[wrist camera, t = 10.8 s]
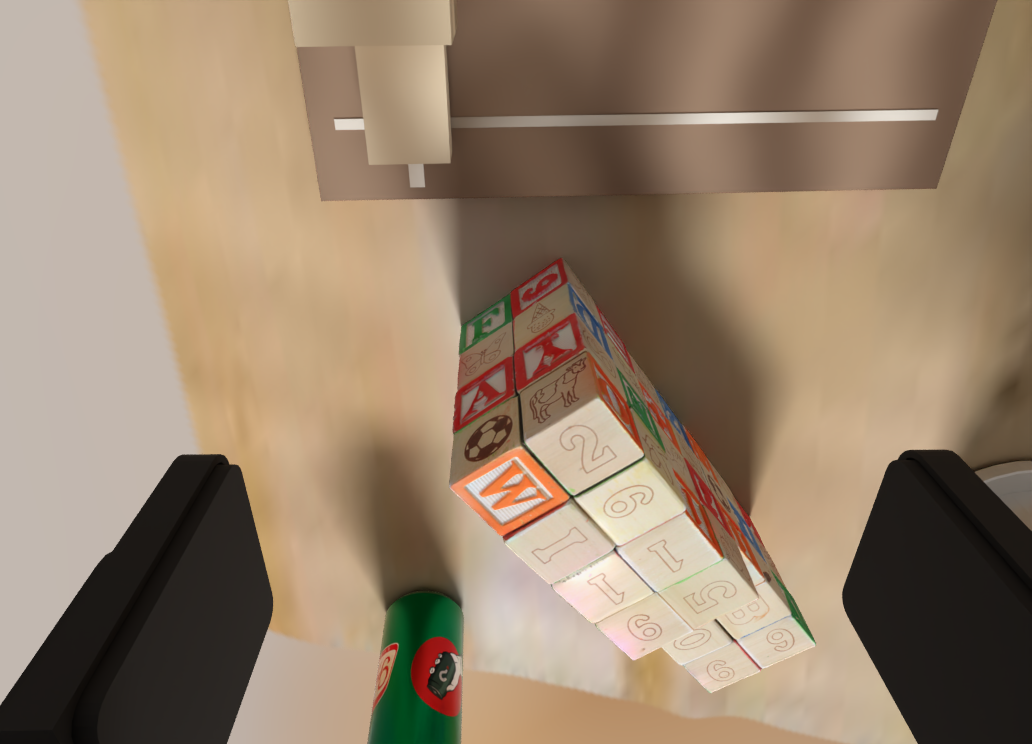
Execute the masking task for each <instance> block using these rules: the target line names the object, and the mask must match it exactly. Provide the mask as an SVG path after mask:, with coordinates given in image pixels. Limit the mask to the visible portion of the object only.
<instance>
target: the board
mask: <svg viewBox="0 0 1032 744" xmlns="http://www.w3.org/2000/svg"><path fill="white" fill-rule="evenodd" d="M996 2H997V0H457V22H458V27H457V30H456V33H455V36H454V39H453V42H452V45H447V63H448V81H449V100H450V118H451V136H452V156H451V163H443V164H389V165H369V162H368V154H367V145H366V137H365V128H364V120H363V112H362V103H361V95H360V86H359V78H358V70H357V61H356V53H355V46H329V47H297V53H298V59H299V65H300V71H301V78H302V84H303V90H304V96H305V103H306V109H307V115H308V121H309V128H310V134H311V140H312V146H313V153H314V159H315V165H316V171H317V178H318V184H319V190H320V196H321V201H346V200H395V199H445V198H494V197H543V196H592V195H641V194H690V193H739V192H788V191H837V190H886V189H936V188H937V185H938V182H939V179H940V176H941V173H942V170H943V167H944V164H945V161H946V157H947V154H948V151H949V148H950V145H951V142H952V139H953V136H954V133H955V130H956V126H957V123H958V120H959V117H960V114H961V111H962V108H963V105H964V102H965V99H966V95H967V92H968V89H969V86H970V83H971V80H972V77H973V74H974V71H975V68H976V64H977V61H978V58H979V55H980V52H981V49H982V46H983V43H984V40H985V37H986V33H987V30H988V27H989V24H990V21H991V18H992V15H993V12H994V9H995V6H996Z"/></svg>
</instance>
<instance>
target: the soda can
mask: <svg viewBox="0 0 1032 744" xmlns="http://www.w3.org/2000/svg"><path fill="white" fill-rule="evenodd" d="M463 635H464V616H463V612H462V610H461V609H460V607H459V606H458V605H457V604H456V603H455V602H454V601H453V600H452V599H451V598H449V597H448V596H446V595H444V594H442V593H439V592H435V591H428V590H422V591H414V592H411V593H408V594H406V595H404V596H402V597H401V598H399V599H398V600H396V601H395V602H394V603H393V604H392V605H391V606H390V607H389V609H388V610H387V613H386V616H385V623H384V630H383V637H382V644H381V651H380V658H379V665H378V672H377V679H376V686H375V694H374V700H373V708H372V715H371V722H370V728H369V735H368V742H367V744H461V723H462V722H461V721H462V679H463V676H462V675H463Z"/></svg>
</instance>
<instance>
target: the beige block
mask: <svg viewBox="0 0 1032 744" xmlns="http://www.w3.org/2000/svg"><path fill="white" fill-rule="evenodd" d="M288 5H289V11H290V17H291V23H292V30H293V36H294V42H295V47H329V46H355V53H356V61H357V70H358V78H359V86H360V95H361V103H362V112H363V120H364V128H365V137H366V145H367V154H368V162H369V165H389V164H443V163H451V156H452V136H451V118H450V100H449V81H448V63H447V45H452V42H453V39H454V36H455V33H456V30H457V27H458V22H457V0H288Z"/></svg>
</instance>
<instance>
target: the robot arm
mask: <svg viewBox="0 0 1032 744" xmlns="http://www.w3.org/2000/svg"><path fill="white" fill-rule="evenodd" d="M842 599H843V605H844V609H845V612H846V614H847V616H848V618H849V620H850V621H851V623H852V625H853V627H854V629H855V631H856V632H857V634H858V636H859V638H860V640H861V641H862V643H863V645H864V647H865V649H866V650H867V652H868V654H869V656H870V658H871V660H872V661H873V663H874V665H875V667H876V669H877V670H878V672H879V674H880V676H881V678H882V680H883V681H884V683H885V685H886V687H887V689H888V690H889V692H890V694H891V696H892V698H893V699H894V701H895V703H896V705H897V707H898V709H899V710H900V712H901V714H902V716H903V718H904V719H905V721H906V723H907V725H908V727H909V728H910V730H911V732H912V734H913V736H914V738H915V739H916V741H917V743H918V744H1032V461H1016V462H1010V463H1004V464H999V465H994V466H991V467H988V468H985V469H981V470H978V471H975V472H974V471H973V470H972V469H971V468H970V467H969V466H968V465H967V464H966V463H965V462H964V461H963V460H962V459H961V458H960V457H959V456H958V455H957V454H955V453H954V452H953V451H949V450H908V451H905V452H903V453H902V454H901V455H900V457H899V458H898V460H895V461H892V462H891V463H890V464H889V465H888V467H887V469H886V472H885V475H884V478H883V480H882V483H881V486H880V489H879V491H878V494H877V497H876V500H875V502H874V505H873V508H872V511H871V513H870V516H869V519H868V521H867V524H866V527H865V530H864V532H863V535H862V538H861V541H860V543H859V546H858V549H857V552H856V554H855V557H854V560H853V563H852V565H851V568H850V571H849V574H848V576H847V579H846V582H845V585H844V587H843V592H842ZM272 611H273V596H272V591H271V587H270V583H269V579H268V575H267V571H266V567H265V563H264V559H263V555H262V551H261V547H260V543H259V539H258V535H257V531H256V527H255V523H254V519H253V515H252V511H251V507H250V503H249V499H248V495H247V491H246V487H245V483H244V479H243V475H242V472H241V469H240V467H239V466H238V465H229V462H228V460H227V458H226V457H225V456H224V455H221V454H210V455H180V456H178V457H177V458H176V459H175V460H174V461H173V463H172V464H171V466H170V467H169V469H168V470H167V472H166V473H165V475H164V476H163V478H162V479H161V481H160V482H159V483H158V485H157V486H156V488H155V489H154V491H153V493H152V494H151V495H150V497H149V498H148V500H147V501H146V503H145V504H144V506H143V507H142V508H141V510H140V512H139V513H138V514H137V516H136V517H135V519H134V520H133V522H132V523H131V525H130V526H129V528H128V529H127V531H126V532H125V534H124V535H123V536H122V538H121V539H120V541H119V542H118V544H117V545H116V547H115V548H114V550H113V551H112V552H111V553H109V554H107V555H105V557H104V558H103V559H102V560H101V561H100V562H99V563H98V565H97V566H96V567H95V569H94V570H93V572H92V573H91V575H90V576H89V578H88V579H87V580H86V582H85V583H84V585H83V586H82V588H81V589H80V591H79V592H78V594H77V595H76V596H75V598H74V599H73V601H72V602H71V604H70V605H69V607H68V608H67V609H66V611H65V612H64V614H63V615H62V617H61V618H60V620H59V621H58V622H57V624H56V625H55V627H54V629H53V630H52V631H51V633H50V634H49V636H48V637H47V638H46V640H45V641H44V643H43V644H42V646H41V647H40V649H39V650H38V651H37V653H36V654H35V656H34V657H33V659H32V660H31V662H30V663H29V665H28V666H27V667H26V669H25V670H24V672H23V673H22V675H21V676H20V678H19V679H18V681H17V682H16V683H15V685H14V686H13V688H12V689H11V691H10V692H9V694H8V695H7V696H6V698H5V700H4V701H3V702H2V704H1V705H0V744H227V742H228V739H229V736H230V733H231V730H232V728H233V725H234V722H235V719H236V716H237V714H238V711H239V708H240V705H241V702H242V699H243V697H244V694H245V691H246V688H247V686H248V683H249V680H250V677H251V674H252V672H253V669H254V666H255V663H256V660H257V658H258V655H259V652H260V649H261V646H262V643H263V641H264V638H265V635H266V632H267V629H268V627H269V624H270V621H271V617H272Z"/></svg>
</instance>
